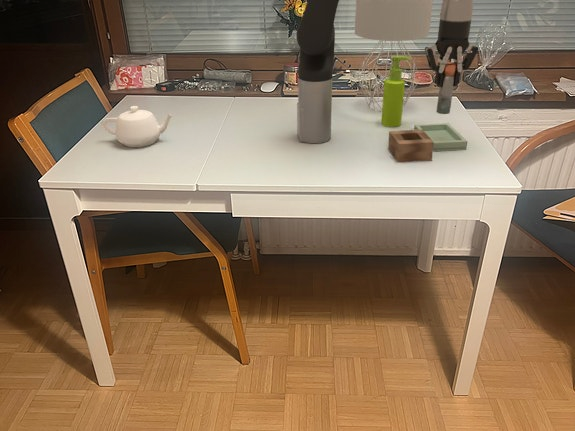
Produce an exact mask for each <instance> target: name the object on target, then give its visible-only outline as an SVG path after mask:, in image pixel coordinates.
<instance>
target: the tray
mask: <svg viewBox="0 0 575 431" xmlns="http://www.w3.org/2000/svg"><path fill="white" fill-rule="evenodd" d="M413 130H423V131H424V132H425V133H426V134H427V135H428V136H429V137H430V138H431V140H432V141H433V142H434V145H433V152H432V153H435V152H450V151H451V152H452V151H466V150H467V146H468V140H467V139H466V138H465V137H463V135H461V133H460V132H458V130H456V129H455V128H454V127H453V126H452V125H451V124H450V123H449V122H446V123H445V122H444V123H424V124H414V128H413Z"/></svg>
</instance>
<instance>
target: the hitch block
mask: <svg viewBox="0 0 575 431" xmlns="http://www.w3.org/2000/svg"><path fill="white" fill-rule="evenodd" d="M433 145H434V142H433V141H432V140H431V138H430V137H429V136H428V135H427V134H426V133H425V132H424V131H423V130H414V129H409V130H408V129H406V130H405V129H404V130H389V133H388V144H387V150H388V151H389V152H390V154H391V155H392V158H394V160H395V161H396V162H397V163H405V162H406V163H411V162H427V161H433V160H432V158H433V153H434V152H433Z"/></svg>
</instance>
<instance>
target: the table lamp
mask: <svg viewBox="0 0 575 431" xmlns="http://www.w3.org/2000/svg"><path fill="white" fill-rule="evenodd" d="M433 3H434V0H355V19H354V35H355V36H357V37H360V38H363V39H368V40H374V41H378V42H377V43H376V45H375V46H374V47H373V48H372V50H370V52H369V53H368V55H367V56H366V58H365V59H364V60H363V61H362V63H361V66H360V68H359V70H358V73H357V81H358V82H359V86H360V88H361V91H362V94H363V96H364V98H365V101H366V104H367V107H368V108H369V109H370V108H371V104H372V105H373V108H372V109H373V111H375V110H377V112H380V111H382V107H381V106H380V104H379V103H378V102H380V99H379V96H377V100H376V99H375V98H374V97H375V95H376V94H379V92H381V93H382V95H383V93H384V91H382V90H384V87H383V88H380V86H379V84H380V83H381V82H382V81H383V80H384V81H385V79H388V78H389V73H390V71H389V72H388V73H387V70H388V64H389V65H390V67H393V63H392V56H393V42H394V45H395V51H396V56H399V54H398V49H397V44H398V48H399V50H400V53H401V54H402V55H401V56H407V55H406V54H408V57H410V58H411V60H410V61H411V62H412V64H411V63H410V61H408V60H403V65H404V66H406V63H407V64H408V65H409V69H410V72H411V74H410V73H409V72H407V71H406V70H405V69H404V68H403V69H402V72H404V74H403V78H402V79H403V80H405V76H406V74H407V75H408V76H409V77H411V78H410V79H408V80H407V81H405V84H406V83H408V82H410V81H411V84H410V86H409V88H407V89H406V90H404V94H405V93H406V94H405V95H404V98H403V108H404V107H405V106H406V104H407V102H408V100H409V99H410V97H411V95H412V94H413V93H414V90H415V88H416V87H417V85H418V84H419V81H420V78H419V77H420V76H417V82H416V83H415V81H416V76H415V71H416V73H417V75H419V72H418V68H417V65H416V62H415V61H414V59H413V57H412V56H411V54H410V52H409V50H408V49H407V48H406V45H405V44H404V41H405V42H406V41H414V40H422V39H425V38H427V37H428V36H430V28H431V22H432V21H431V20H432V12H433ZM382 41H383V44H382V45H381V43H382ZM387 41H388V44H389V45H388V50H387V51H388V52H387V59H386V60H385V59H384V58H383V57H381V54H382V51H383V49H384V47H385V44H386V42H387ZM396 42H397V44H396ZM380 45H381V46H382V47H381V48H380V50H379V53H378V55H377V57H376V58H374V59H372V61H371V62H369V61H370V59H371V58H372V56H373V54H374V53H375V52H376V51H377V49H378V47H379V46H380ZM390 47H391V50H390ZM390 51H391V52H390ZM405 52H406V53H405ZM390 54H391V55H390ZM389 56H390V62H388V61H389ZM379 58H380V59H382V60H384V62H386V68H385V75H384V76H383V75H382V74H381V73H380V71H379V70H378V63H379V60H380V59H379ZM366 59H367V60H366ZM368 62H369V63H368ZM405 62H406V63H405ZM372 63H374V64H373V66H372V67H370V68H369V69H367V70H366V67H369V65H370V64H372ZM375 65H376V66H375ZM399 67H400V68H401V65H400V63H399ZM371 69H372V70H371ZM374 69H375V71H374ZM369 70H371V73H370V76H368V75H366V74H365V73H367V72H368V71H369ZM412 70H413V71H412ZM360 71H361V72H360ZM373 72H375V73H378V74H379V75H380V76H381V79H380V80H379V81H378V78H377V75H375V80H376V81H374V80H373V79H372V75H373ZM359 76H360V77H359ZM362 76H363V77H362ZM387 76H388V77H387ZM361 78H362V79H361ZM366 78H368V79H369V81H368V83H367V80H366ZM361 80H362V82H361ZM364 81H365V84H366V87H365V86H364ZM371 81H372V82H374V84H376V85H375V88H374V90H373V91H374V92H373V94H372V91H371ZM363 88H364V89H363ZM378 88H379V89H378ZM365 90H366V92H367V93H368V95H367V94H366V92H365ZM368 100H369V102H368ZM377 101H378V102H377ZM371 102H373V103H371ZM370 103H371V104H370ZM374 103H376V105H377V106H378V107H379V108H380V110H378V109H376V108H375V104H374Z"/></svg>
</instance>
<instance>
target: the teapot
mask: <svg viewBox="0 0 575 431" xmlns="http://www.w3.org/2000/svg"><path fill="white" fill-rule="evenodd" d="M129 109H130V110H128V111H124V112H122V113H120V114H119V115H118V116H117V117H108V118H104V119H103V120H102V121H101V126H102V127H103V128H104V130H105V131H107V132H108V133H109V134H111V135H115V138H116V140H117V141H118V142H119V143H121V144H123V145H124V146H126V147H127V148H128V147H129V148H141V147H142V148H143V147H148V146H150V145H152V144H154V143H155V142H156V141H157V140H158V138H159V137H160V135H162V134H163V133H164V132H165V131H166V129H167V128H168V126H169V122H170V119H171V118H172V117H174V114H171V113H169V114H167V115H166V117H165V119H164V122H163V123H162V124H161V125H159V122H158V120H157V118H156V116H155V115H154V114H153V113H152V112H151V111H149V110H147V109H146V110H145V109H139V106H137V105H132V106H130V108H129ZM108 122H115V123H116V124H115V129H113V128H111V127H110V126H109V125H108Z"/></svg>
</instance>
